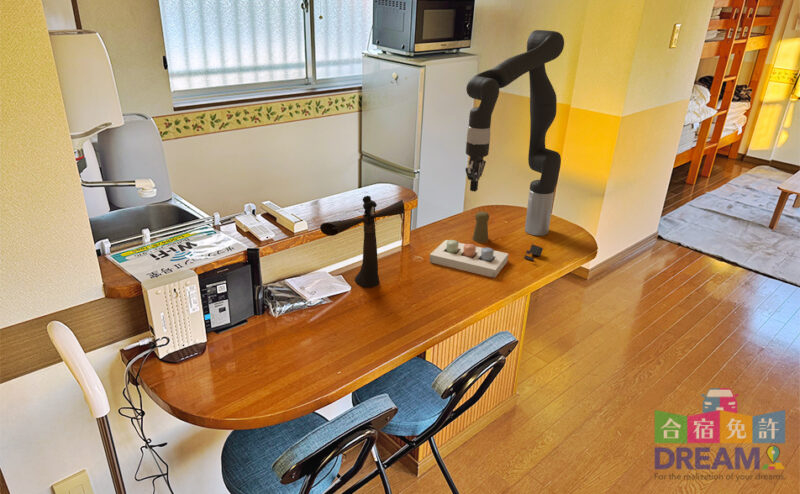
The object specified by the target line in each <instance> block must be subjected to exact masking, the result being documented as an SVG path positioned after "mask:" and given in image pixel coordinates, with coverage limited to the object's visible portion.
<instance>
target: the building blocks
mask: <svg viewBox="0 0 800 494" xmlns="http://www.w3.org/2000/svg"><path fill="white" fill-rule="evenodd" d="M543 250H544V247H541V246H538V245H536V244H533V243H532V244H531V245H530V249H529V250H526V252H525V253H526V254H527V255H526V254H525V255H524V257H523V259H526V260H529V261H532V262H533V261H534V259H535V257H533V256H529V255H531V254H532V255H534V256H538V257H541V255H542V253H543Z"/></svg>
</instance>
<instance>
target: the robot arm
mask: <svg viewBox="0 0 800 494" xmlns="http://www.w3.org/2000/svg"><path fill="white" fill-rule="evenodd" d="M564 47H565V38H564V36H563V34H562V33H560V32H559V31H555V30H545V29H536V30H533V31H531V32H530V34H529V35H528V38H527V41H526V51H525V52H523V53H519V54H516V55H514V56H510V57H509V58H506V59H505V60H504V61H502V62H500V63H499V64H497V65H496V66H494V67H493V68H490V69H487V70H484V71H482V72H479V73H477V74H476V75H474V76H473V77H471V78H470V79H469V81H468V82H467V84H466V89H465V90H466V93H467V94H466V95H468V97H469V98H471V99H474V100H478V101H480V103H479V106H475V107H473V108H470V111H469V116H468V117H469V118H468V128H467V134H466V143H465V154H466V155H467V156H469V160H468V167H465V174H466V178H467V180H469V181H470V186H469V191H470V192H475V193H476V192H477V191H478V190H479V189H478V188H479V180H480V178H482V175H483V172H484V169H485V166H486V164H487V161H486V160H484V157H487V156H489V151H490V141H491V124H492V114H493V112H494V110H495V106H496V104H497V102H498V99H499V94H500V89H502V88H506V87H507V86H509V85H510V84H512V83H513V82H515V80H517V79H519V78H520V77H522V76H523V75H524V74H526V73H528V74H529V75H528V77H529V116H530V118H529V119H530V122H529V125H530V126H529V129H530V130H529V133H530V134H529V146H528V155H527V156H528V157H527V159H528V167H529V168H530V169H531V170H532V171H534V172H537V173H539V174H540V179H535V180H532V181H531V182H530V184H529V190H528V191H529V192H528V200H527V209H526V216H525V226H524V231H525V232H526V233H527V234H528V235H529V234H530V235H533V236H540V237H541V236H546V235H548V234H549V230H550V224H551V217H552V209H553V208H552V207H553V203H554V202H553V201H554V196H555V195H554V194H555V189H556V186H557V185H558V184H557V183H558V181H559V180H558V179H559V175H560V170H561V165H562V158H561V154H560V152H557V151H555V150H552V149H549V148H546V135H547V132H548V130H549V129H550V127H551V125H552V124H553V122H554V121H555V118H556V116H557V107H558V106H557V102H558V100H557V94H556V91H555V88H554V86H553V84H552V83H551V81H550V79H549V76H548V74H547V71H546V65H545V64H548V62H549V63H550V62H552V61H555V60H556V59H557V58H559V56H561V54H562V53H563V50H564Z"/></svg>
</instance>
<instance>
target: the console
mask: <svg viewBox="0 0 800 494" xmlns="http://www.w3.org/2000/svg"><path fill="white" fill-rule="evenodd" d="M449 240H450V239H449ZM449 240H448V239H445V240H444V241H442V243H441V244H439V245H438V246H437V247H436V248H435V249H433V251H432V252H431V253H430V254H429V263H432V264H436V265H440V266H444V267H449V268H452V269H456V270H460V271H464V272H469V273H473V274H477V275H482V276H485V277H489V278H490V277H491V278H494V279H495V278H496V277H497V275H498V274H499V273H500V272H501V271H502V269H503V268H504V267H505V265H506V264H507V263H508V261H509V253H506V252H502V251H500V250H494V253H493V261H492V262H487V261H483V260H481V249H482V248H483V247H482V246H476V252H475V257H474V258H470V257H465V256H463V250H464V245H465V244H466V243H462V242H458V253H457V254H452V253H448V252H446V245H447V241H449Z"/></svg>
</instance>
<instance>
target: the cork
mask: <svg viewBox="0 0 800 494" xmlns="http://www.w3.org/2000/svg"><path fill="white" fill-rule="evenodd" d="M474 218H475V226H474V230H473V236H472V241H474V242H476V243H487V242H488V241H489V228H488V226H489V225H488V222H489V219H490V215H489V213H488V212H486V211H483V210H482V211H478V212H476V213H475V216H474Z"/></svg>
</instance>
